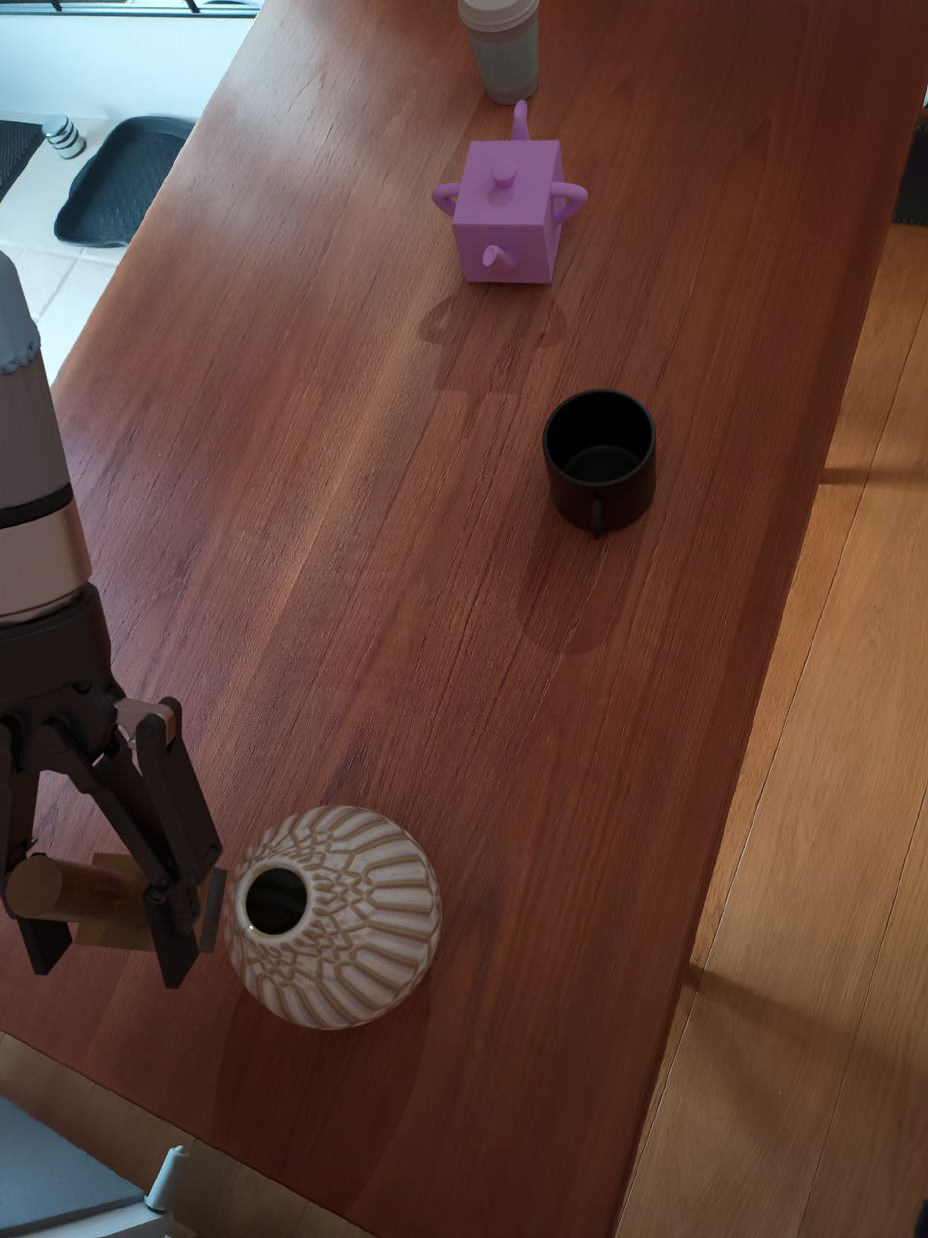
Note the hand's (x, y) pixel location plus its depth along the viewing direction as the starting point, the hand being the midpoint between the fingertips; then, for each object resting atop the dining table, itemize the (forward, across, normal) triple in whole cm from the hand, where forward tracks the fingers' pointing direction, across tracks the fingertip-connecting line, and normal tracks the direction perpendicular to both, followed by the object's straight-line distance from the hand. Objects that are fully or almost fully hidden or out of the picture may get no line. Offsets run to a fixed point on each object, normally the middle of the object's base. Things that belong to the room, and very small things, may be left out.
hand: (117, 963), depth 54 cm
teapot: (-33, -15, -69) cm, 77 cm away
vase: (+15, -7, -21) cm, 27 cm away
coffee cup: (-49, -13, -85) cm, 99 cm away
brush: (+1, 0, -6) cm, 6 cm away
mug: (-12, -25, -48) cm, 55 cm away
